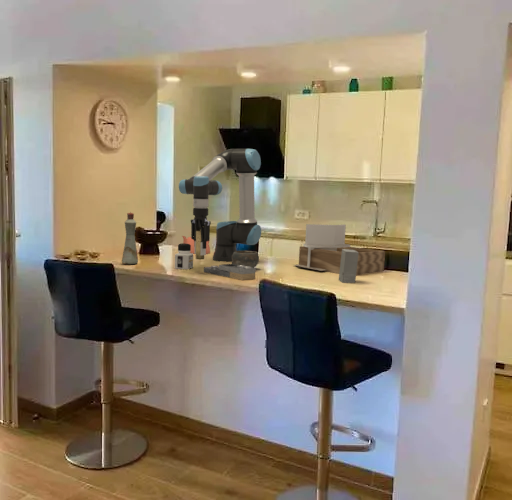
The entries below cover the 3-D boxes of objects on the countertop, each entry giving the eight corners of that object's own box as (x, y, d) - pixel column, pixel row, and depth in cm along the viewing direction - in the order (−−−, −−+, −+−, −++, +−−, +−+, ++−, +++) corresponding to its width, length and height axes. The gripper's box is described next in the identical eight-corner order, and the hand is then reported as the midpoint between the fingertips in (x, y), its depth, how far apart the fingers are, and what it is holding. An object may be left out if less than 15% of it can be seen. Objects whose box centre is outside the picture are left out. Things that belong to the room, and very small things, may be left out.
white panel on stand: (326, 261, 336) (328, 222, 334) (354, 266, 321) (357, 225, 318) (292, 265, 318) (294, 222, 315) (320, 270, 302) (323, 226, 299)
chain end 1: (216, 270, 297) (216, 264, 296) (242, 276, 282) (243, 269, 281) (203, 272, 291) (204, 265, 291) (229, 277, 276) (229, 270, 276)
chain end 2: (231, 274, 288) (232, 262, 287) (255, 279, 275) (256, 266, 274) (218, 275, 282) (219, 263, 282) (242, 280, 269) (243, 267, 268)
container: (188, 269, 298) (189, 244, 296) (174, 268, 299) (174, 243, 298) (193, 267, 305) (193, 243, 304) (179, 266, 307) (179, 242, 305)
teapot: (191, 257, 348) (191, 235, 347) (171, 255, 358) (172, 233, 357) (218, 255, 368) (218, 234, 367) (198, 252, 378) (199, 232, 377)
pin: (200, 258, 289) (201, 230, 287) (206, 259, 286) (206, 231, 284) (193, 258, 286) (194, 230, 284) (199, 259, 283) (199, 231, 281)
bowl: (261, 269, 308) (262, 251, 307) (252, 273, 293) (253, 253, 292) (237, 267, 312) (238, 249, 311) (227, 271, 298) (227, 251, 297)
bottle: (117, 263, 309) (118, 211, 306) (127, 262, 318) (128, 211, 315) (131, 265, 306) (132, 212, 303) (141, 263, 314) (142, 212, 312)
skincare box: (338, 281, 278) (339, 248, 276) (352, 281, 279) (354, 249, 277) (342, 284, 270) (344, 250, 268) (357, 284, 270) (359, 251, 269)
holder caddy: (332, 264, 341) (333, 244, 340) (383, 272, 314) (385, 251, 313) (298, 267, 321) (299, 246, 320) (350, 276, 294) (351, 253, 293)
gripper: (184, 206, 286) (183, 253, 289) (205, 208, 274) (204, 257, 277) (196, 206, 291) (195, 252, 294) (217, 208, 279) (216, 256, 282)
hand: (200, 254), depth 286 cm, fingers closed on pin, 4 cm apart
